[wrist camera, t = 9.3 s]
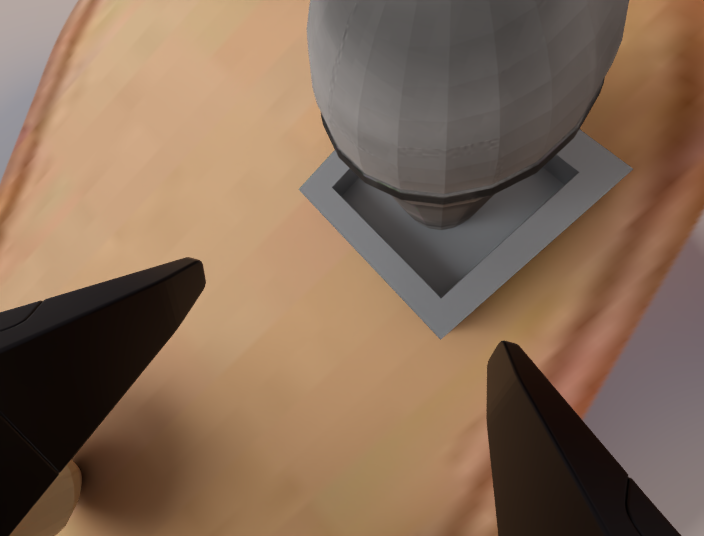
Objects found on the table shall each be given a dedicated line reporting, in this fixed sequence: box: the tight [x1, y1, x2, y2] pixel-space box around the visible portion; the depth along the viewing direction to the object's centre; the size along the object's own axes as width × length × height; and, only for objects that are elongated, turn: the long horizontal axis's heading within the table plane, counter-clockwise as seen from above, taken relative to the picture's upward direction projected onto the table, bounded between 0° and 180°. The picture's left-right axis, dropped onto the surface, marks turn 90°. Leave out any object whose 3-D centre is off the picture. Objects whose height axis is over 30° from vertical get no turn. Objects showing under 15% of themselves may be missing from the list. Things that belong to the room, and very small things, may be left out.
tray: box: [299, 129, 633, 340], centre depth 19 cm, size 13×13×2 cm
